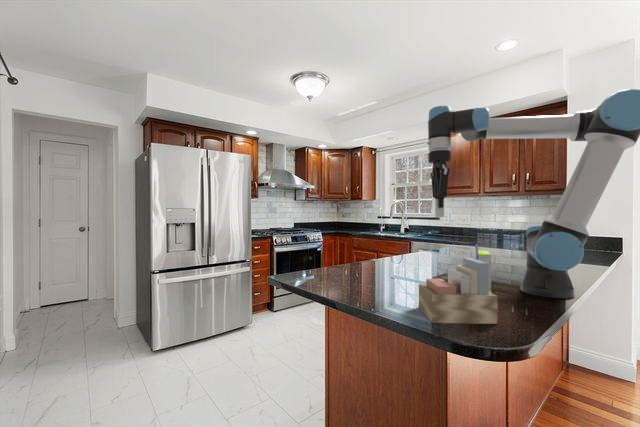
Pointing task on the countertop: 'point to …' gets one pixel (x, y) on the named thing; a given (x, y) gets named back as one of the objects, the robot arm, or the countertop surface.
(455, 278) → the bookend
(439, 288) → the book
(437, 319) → the wooden crate
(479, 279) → the shelved books
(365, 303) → the countertop surface
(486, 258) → the box
